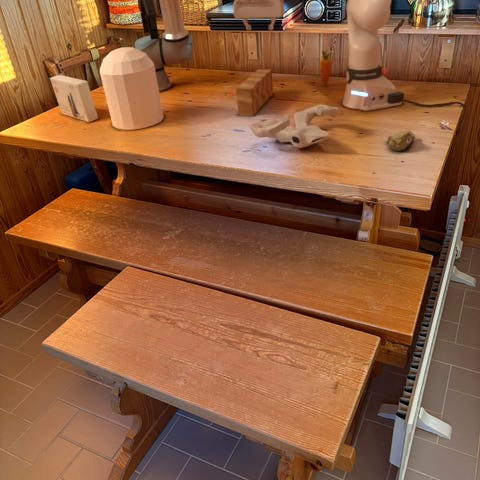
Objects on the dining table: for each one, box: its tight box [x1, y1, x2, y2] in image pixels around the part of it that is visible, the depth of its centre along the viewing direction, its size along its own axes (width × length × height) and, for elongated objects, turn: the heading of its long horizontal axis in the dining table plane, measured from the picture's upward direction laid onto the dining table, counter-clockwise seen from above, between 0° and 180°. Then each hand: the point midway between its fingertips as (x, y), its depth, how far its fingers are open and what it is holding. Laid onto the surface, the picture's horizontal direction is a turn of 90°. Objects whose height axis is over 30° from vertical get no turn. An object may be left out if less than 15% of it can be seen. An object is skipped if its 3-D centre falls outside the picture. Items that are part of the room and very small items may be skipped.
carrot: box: [319, 49, 333, 86], centre depth 201 cm, size 5×5×15 cm
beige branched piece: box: [250, 104, 341, 149], centre depth 155 cm, size 28×26×12 cm
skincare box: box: [49, 74, 99, 123], centre depth 193 cm, size 21×5×16 cm, turn 49°
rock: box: [387, 129, 416, 152], centre depth 146 cm, size 11×6×10 cm
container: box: [99, 46, 164, 131], centre depth 180 cm, size 21×21×28 cm
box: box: [235, 68, 274, 117], centre depth 190 cm, size 27×6×11 cm, turn 160°
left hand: (151, 35), depth 158 cm, fingers open, 13 cm apart
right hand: (259, 30), depth 185 cm, fingers open, 8 cm apart
